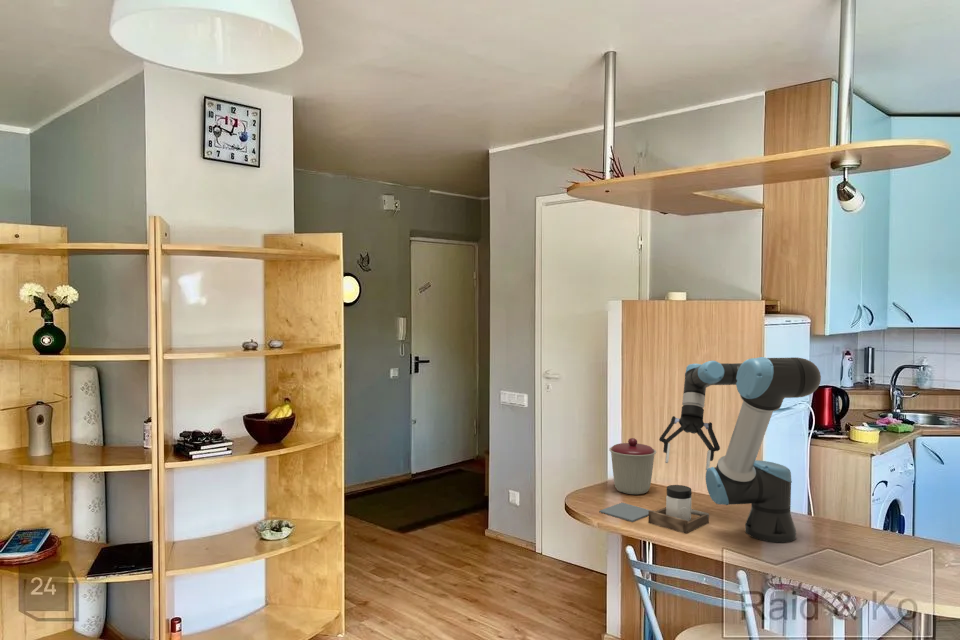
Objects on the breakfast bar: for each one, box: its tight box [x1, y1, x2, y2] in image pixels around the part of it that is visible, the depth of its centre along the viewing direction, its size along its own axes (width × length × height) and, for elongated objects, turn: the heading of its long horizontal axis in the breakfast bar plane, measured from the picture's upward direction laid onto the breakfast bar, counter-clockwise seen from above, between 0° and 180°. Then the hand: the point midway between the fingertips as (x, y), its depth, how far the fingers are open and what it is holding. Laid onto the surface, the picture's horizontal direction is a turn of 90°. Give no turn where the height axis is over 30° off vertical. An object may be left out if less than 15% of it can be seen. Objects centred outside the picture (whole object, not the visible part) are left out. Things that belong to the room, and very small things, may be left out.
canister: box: [608, 437, 657, 495], centre depth 262 cm, size 18×18×21 cm
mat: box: [598, 502, 656, 523], centre depth 236 cm, size 14×14×1 cm
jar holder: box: [647, 506, 710, 534], centre depth 226 cm, size 14×15×4 cm
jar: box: [665, 484, 692, 521], centre depth 225 cm, size 9×8×12 cm
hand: (686, 466), depth 229 cm, fingers open, 13 cm apart
